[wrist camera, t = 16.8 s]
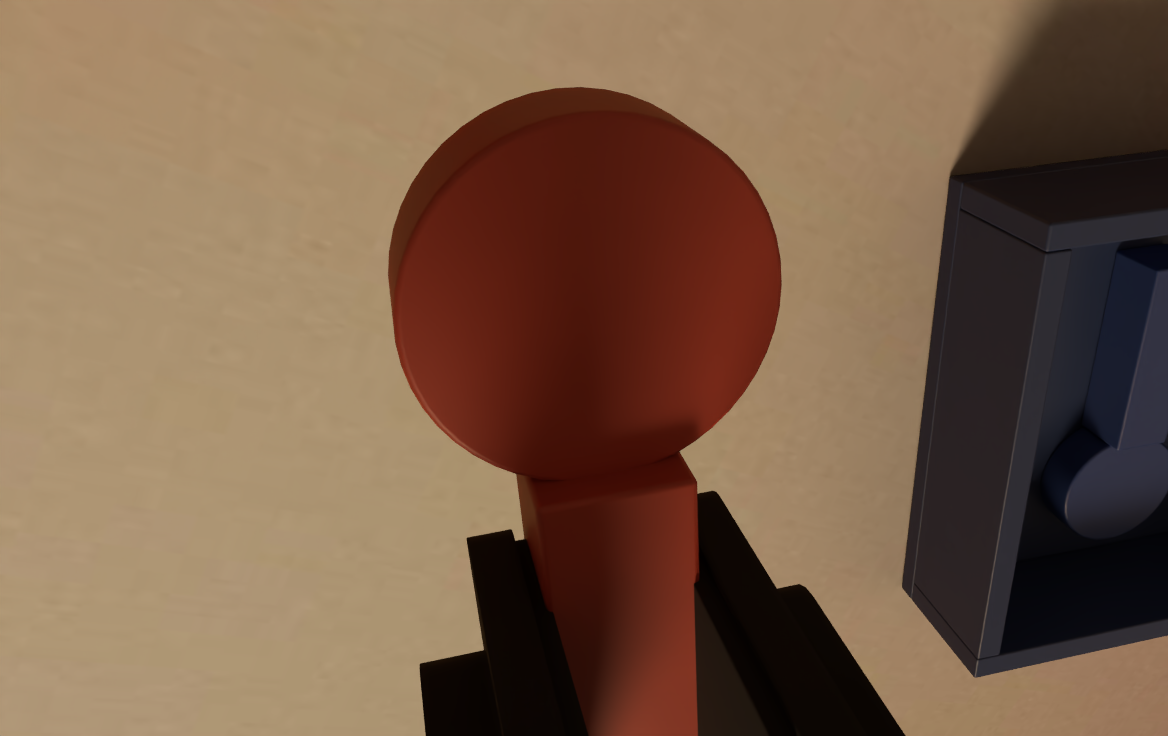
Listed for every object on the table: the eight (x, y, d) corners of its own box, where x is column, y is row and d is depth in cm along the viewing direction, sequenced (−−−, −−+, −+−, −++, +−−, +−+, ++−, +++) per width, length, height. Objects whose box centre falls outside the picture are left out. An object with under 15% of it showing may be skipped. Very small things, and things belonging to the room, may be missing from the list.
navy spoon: (1082, 254, 26) (1124, 274, 25) (1198, 238, 27) (1245, 257, 25) (1031, 527, 30) (1064, 557, 29) (1132, 508, 31) (1170, 537, 29)
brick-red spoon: (739, 738, 13) (786, 838, 12) (480, 800, 13) (496, 911, 11) (739, 65, 9) (807, 96, 8) (357, 111, 9) (358, 152, 7)
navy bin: (949, 175, 25) (1050, 223, 21) (1324, 129, 27) (1475, 166, 23) (901, 587, 31) (974, 678, 27) (1210, 525, 33) (1316, 603, 29)
